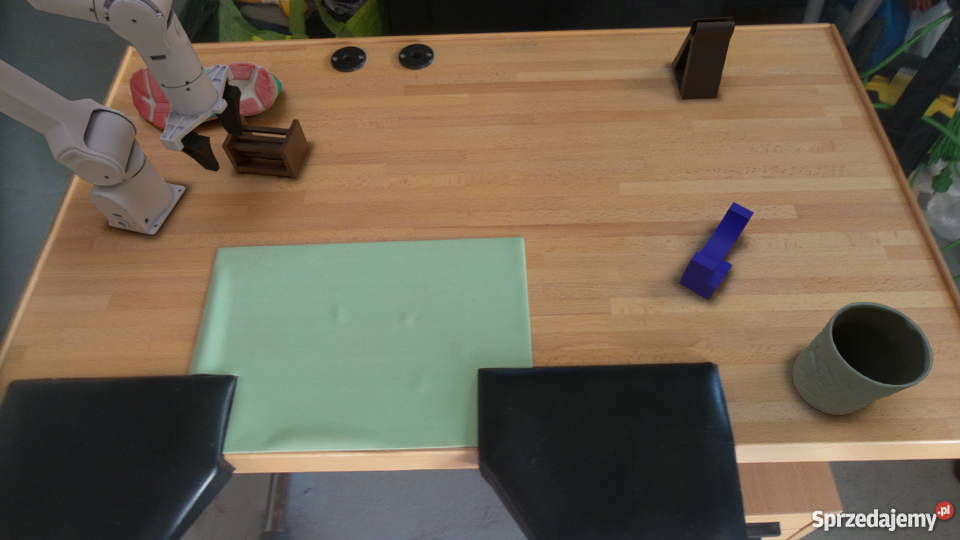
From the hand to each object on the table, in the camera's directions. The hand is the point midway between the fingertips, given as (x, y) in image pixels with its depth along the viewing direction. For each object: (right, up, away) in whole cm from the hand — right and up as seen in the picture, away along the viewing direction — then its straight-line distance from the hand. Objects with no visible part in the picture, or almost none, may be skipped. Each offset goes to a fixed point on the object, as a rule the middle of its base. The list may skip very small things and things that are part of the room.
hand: (224, 150), depth 81 cm
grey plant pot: (+80, -31, -11) cm, 86 cm away
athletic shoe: (-10, +10, +18) cm, 23 cm away
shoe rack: (+3, +1, +12) cm, 12 cm away
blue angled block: (+70, -16, -1) cm, 72 cm away
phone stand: (+74, +16, +19) cm, 79 cm away
